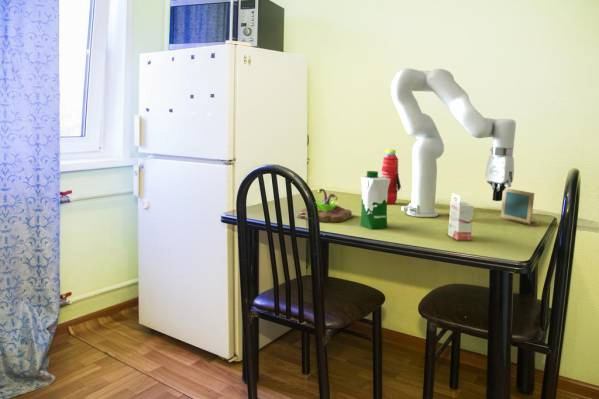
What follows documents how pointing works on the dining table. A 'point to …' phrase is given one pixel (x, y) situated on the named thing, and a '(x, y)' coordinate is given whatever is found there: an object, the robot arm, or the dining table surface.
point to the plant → (329, 210)
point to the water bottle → (391, 175)
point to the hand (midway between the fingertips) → (497, 200)
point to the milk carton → (374, 200)
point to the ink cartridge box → (460, 219)
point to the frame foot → (533, 222)
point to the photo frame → (517, 205)
